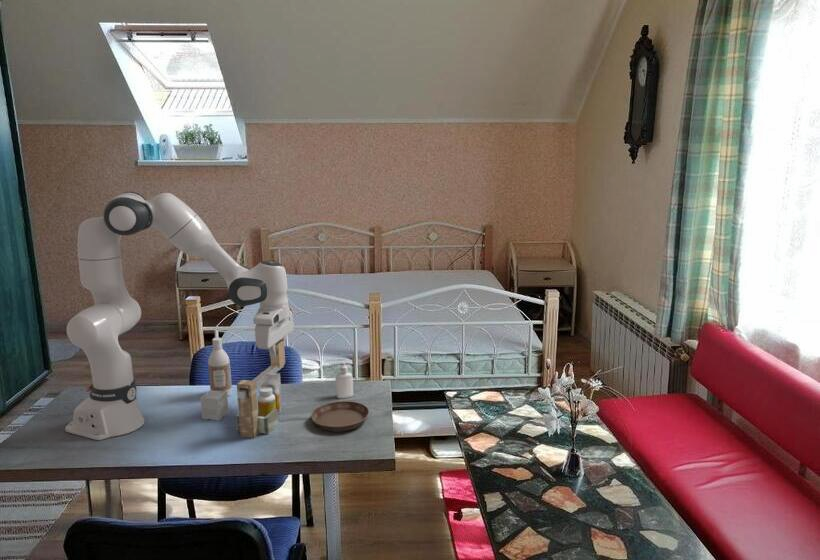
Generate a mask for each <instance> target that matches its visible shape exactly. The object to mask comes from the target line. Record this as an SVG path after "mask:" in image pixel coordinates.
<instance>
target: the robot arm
mask: <svg viewBox="0 0 820 560" xmlns="http://www.w3.org/2000/svg"><path fill="white" fill-rule="evenodd" d="M151 227H152V228H153V229H154V228H155V230H157V231H158V232H160V233H161V235H162V236H163V237H165V238H166V239H167V240H168V241H169V242H170V243H171V244H172V245H173V246H174V247H175V248H177V249H178V250H180V251H181V252H182V253H184V254H185V255H189V256H194V257H195V256H196V257H199V258H201V259H203V260H204V261H205V262H207V263H208V264H209V265H210V266H211V267H212V268H213V269H214V270H215V271H216V272H218V273H219V275H221V277H222V279H224V282H225V284H226V287H227V291H228V292H227V294H228V297H229V299H230V301H231V302H233V304H235V305H237V306H241V307H247V306H252V305H256V304H258V303H259V308H258V310H257V312H256V314H255V315H254V317H253V319H252V321H253V324H254V325H255V328H254V336H255V345H256V347H257V348H258V349H259V350H260V349H261V350H268V351H269V357H270V358H271V357H275V356H276V355H277V350H275V344H276V343H277V342H278V341H280V340H284V345H285V343H286V341H287V340H286V339H287V338H286V337H287V336H288V335H289V334H291V333H292V332H293V331H294V329H295V326H294V325H295V323H294V316H293V312H292V311H291V308H290V304H289V298H288V295H287V294H288V289H289V287H288V279H287V278H288V277H287V276H288V275H287V273H286V272H287V271H286V269H285V266H284V265H283V264H281V262H278V261H274V260H261V261H260V262H259V263H258V264H256V265H255V266H254V267H252V268H250V267H248V266H246V265H242V264H240V263H239V262H237V261H236V260H235V259H234V258H233V257H232V256H231V255H230V254H229V253H228V252H227V251H226V250H225V249H224V248H223V247H222V246H221V245H220V244H219V243H218V242H217V240H216V239H215V237H214V235H213V233H212V232H211V229H209V227H208V226H207V225H206V223H205V222H204V221H203V220H202V218H201V217H200V216H199V215H198V214H197V213H196V212H195V211H194V210H193V209H192V208H191V207H190V206H189V205H188V204H186V203H185V202H184V201H182V199H180V198H179V197H177V196H175V194H172V193H170V192H162V193H159V194H157V195H155V196H154V197H152V198H151V199H149V200H147V199H146V198H145V197H144V196H143V195H142V194H140V193H138V192H135V191H125V192H121V193H119V194H117V195H115V196H113V197H112V198H111V199H110V200H109V201H108V203H107V204H106V206H105V207H104V209H103V215H102V216H96V217H90V218H88V219H85V220H84V221H82V222H81V223H80V224H79V226H78V233H77V234H78V235H77V260H78V267H79V277H80V278H79V279H80V284H81V286H82V287H83V288H84V289H86V290H88V291H90V293H91V296H92V298H93V301H94V303H93V305H92V306H90V307H87V308H84V309H82V310H80V311H79V312H78V313H77V314H75V315H73V317H71V318H70V320H69V321H68V322H67V325H66V334H67V338H68V339H69V340H70V342H71V343H72V345H74V346H76V347H78V348H80V349H81V350H82V351H83V353H84V355H85V356H86V358H87V360H88V363H89V368H90V372H91V379H92V384H90V385H89V386H88V387H86V388H85V390H86V391H85V392H86V393H88V392H89V391H90V392H89V396H88V397H87V398H85V399H84V400H83V401H82V402H81V403H79V405H77V406H76V407H75V408H74V410H73V412H72V413H73V414H72V420H71V421H70V422H69V423H67V425H66V426H65V431H64V432H67V433H69V434H73V435H77V436H79V437H80V436H81V437H84V438H88V439H90V440H91V439H92V440H95V441H101V440H104V439H109V438H112V437H113V438H114V437H118V436H122V435H127V434H129V433H132V432H134V431H137V430H138V429H140V428H141V427H142V426H143V425H144V424H145V418H144V416H143V414H142V412H141V408H140V404H139V401H138V398H137V391H138V390H137V384H136V383H137V382H136V379H135V378H134V371H133V363H132V362H133V361H132V356H131V354H130V353H129V352H127V351H126V350H123V349H122V346H120V343H119V336H120V335H122V334H125V333H126V332H128V331H130V330H131V329H133V328H134V326H136V324H138V322H140V320H141V318H142V309H141V306H140V304H139V302H137V300H136V299H134V298H133V297H132V296H131V295H130V293H129V292H128V289H127V286H126V284H125V279H124V274H123V273H124V272H123V263H122V252H121V238H122V236H123V237H125V236H132V235H136V234H137V233H141V232H142V231H144V230H147V229H148V228H151Z"/></svg>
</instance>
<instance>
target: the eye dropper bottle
mask: <svg viewBox="0 0 820 560" xmlns="http://www.w3.org/2000/svg"><path fill="white" fill-rule="evenodd" d="M339 368H340V369H339V370H340V371H339V373H337V374H336V375H335V392H336V393H335V394H336V395H335V396H336V398H338V399H348V398H351V397H353V396H354V378H353V377H354V376H353V374H352V373H351V372H350V371H348V370H349V369H348V365H346V363H345V362H342V365H340V367H339Z"/></svg>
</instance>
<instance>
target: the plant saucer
mask: <svg viewBox="0 0 820 560" xmlns="http://www.w3.org/2000/svg"><path fill="white" fill-rule="evenodd" d="M369 415H370V409H369V408H368V406H366V405H364V404H362V403H360V402H357V401H350V400H349V401H348V400H346V401H345V400H343V401H342V400H341V401H334V402H329V403H326V404H322V405H320V406H318V407H317V408H315V409H314V410H313V411H312V412H311V420H312V421H313V422H314V424H315V425H317V426H318V427H319V428H320V429H322V430H324V431H327V432H336V433H337V432H338V433H339V432H340V433H341V432H347V431H351V430H354V429H356V428H359V427H361V426H362V424H363V423H364V422H365V421H366V419H368V416H369Z"/></svg>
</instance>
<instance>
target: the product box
mask: <svg viewBox="0 0 820 560" xmlns="http://www.w3.org/2000/svg"><path fill="white" fill-rule="evenodd" d="M200 408H201V409H200V410H201V419H202V420H208V419H210V421H221V420H222V419H223V418H224V417H225V416H227V414H229V402H228V396H227V392H226V391H212V390H211V389H209V391H207V392H206V393H204V394H203V395H201V396H200ZM223 416H224V417H223ZM222 417H223V418H222Z"/></svg>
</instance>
